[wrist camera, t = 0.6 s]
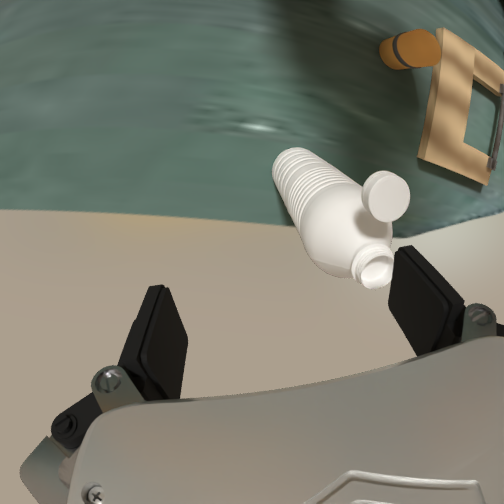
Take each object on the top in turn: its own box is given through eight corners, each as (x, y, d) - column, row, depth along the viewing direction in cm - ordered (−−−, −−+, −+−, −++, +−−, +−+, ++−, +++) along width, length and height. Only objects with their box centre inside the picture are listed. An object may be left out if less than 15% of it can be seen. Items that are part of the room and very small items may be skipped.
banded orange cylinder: (380, 32, 27) (410, 21, 20) (410, 45, 28) (443, 39, 21) (376, 63, 30) (406, 56, 23) (406, 75, 30) (439, 73, 23)
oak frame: (436, 29, 26) (447, 26, 23) (499, 72, 28) (510, 73, 25) (416, 157, 36) (428, 161, 33) (480, 182, 38) (491, 188, 35)
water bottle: (320, 193, 38) (413, 311, 16) (272, 195, 38) (319, 326, 16) (319, 129, 34) (442, 177, 12) (269, 131, 34) (328, 175, 12)
